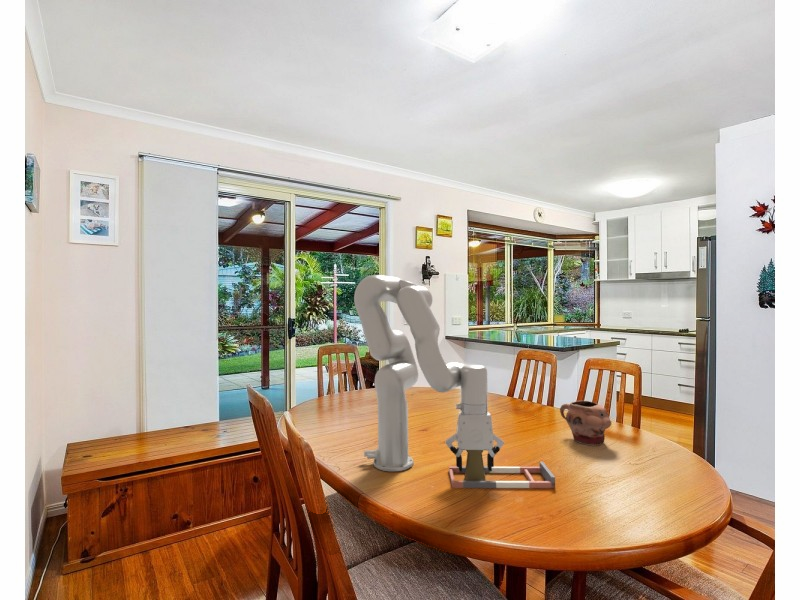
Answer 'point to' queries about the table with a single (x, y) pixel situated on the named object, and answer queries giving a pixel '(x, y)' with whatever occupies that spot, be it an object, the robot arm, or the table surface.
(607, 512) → the table surface
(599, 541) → the table surface
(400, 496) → the table surface
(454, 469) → the frame
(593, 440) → the sculpted ceramic mug
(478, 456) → the cork
